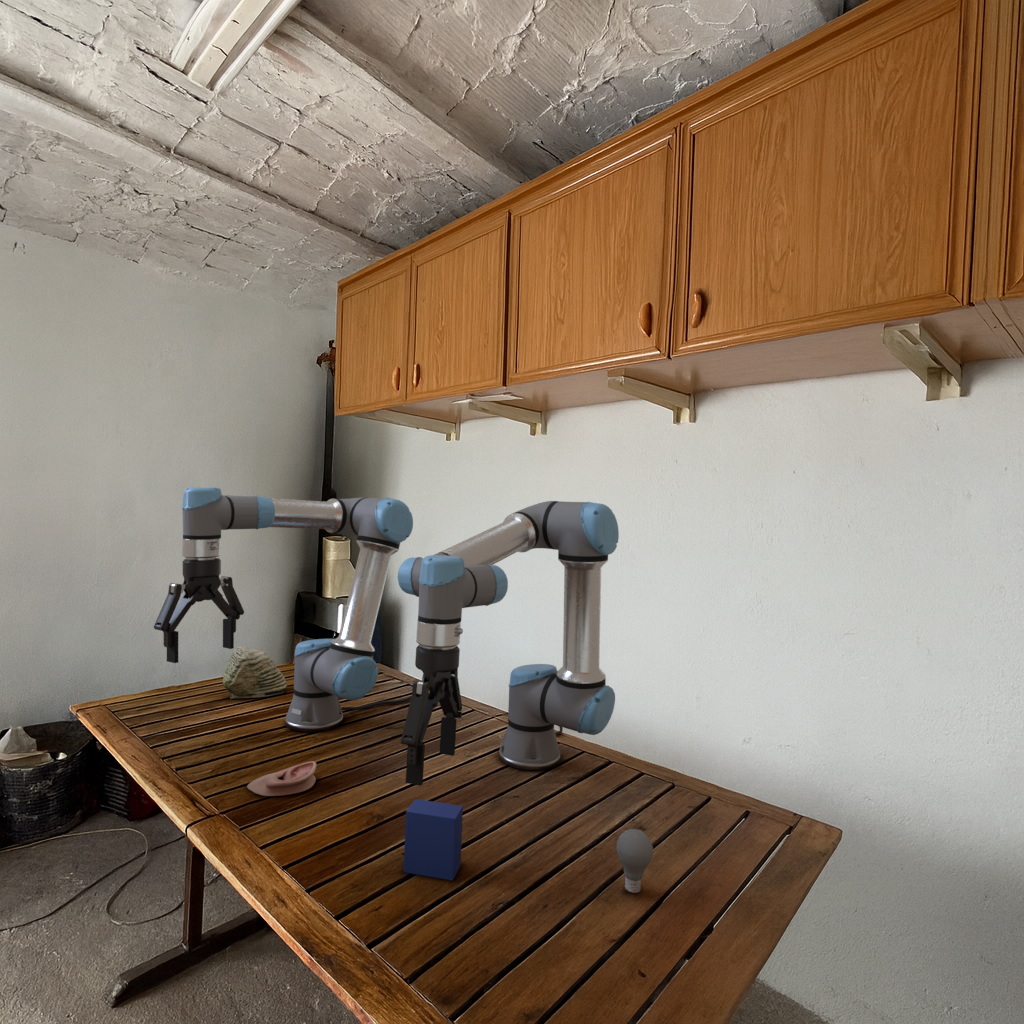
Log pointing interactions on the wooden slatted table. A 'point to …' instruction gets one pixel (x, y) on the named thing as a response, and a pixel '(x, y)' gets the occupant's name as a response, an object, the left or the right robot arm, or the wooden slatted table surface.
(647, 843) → the light bulb
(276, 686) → the fossil
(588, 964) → the wooden slatted table surface
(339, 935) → the wooden slatted table surface
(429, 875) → the brick
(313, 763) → the anatomical model
